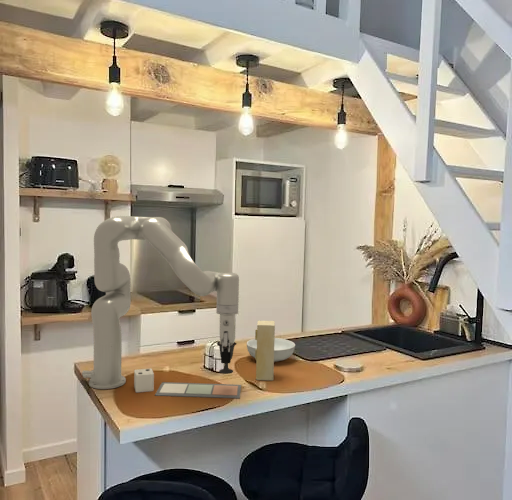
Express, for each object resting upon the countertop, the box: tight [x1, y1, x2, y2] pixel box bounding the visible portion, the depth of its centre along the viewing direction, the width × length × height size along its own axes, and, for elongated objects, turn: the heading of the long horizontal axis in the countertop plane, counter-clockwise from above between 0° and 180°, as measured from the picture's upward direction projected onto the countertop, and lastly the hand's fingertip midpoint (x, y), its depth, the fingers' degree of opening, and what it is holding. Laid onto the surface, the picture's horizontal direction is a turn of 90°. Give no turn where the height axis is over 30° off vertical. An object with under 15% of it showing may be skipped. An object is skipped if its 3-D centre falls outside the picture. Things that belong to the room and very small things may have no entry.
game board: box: [154, 381, 242, 399], centre depth 168 cm, size 29×12×1 cm, turn 89°
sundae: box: [216, 341, 237, 375], centre depth 167 cm, size 7×7×15 cm
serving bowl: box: [246, 337, 296, 363], centre depth 206 cm, size 21×21×7 cm
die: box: [133, 367, 155, 393], centre depth 168 cm, size 6×6×6 cm
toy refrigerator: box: [254, 320, 276, 381], centre depth 183 cm, size 8×7×21 cm
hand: (226, 359), depth 167 cm, fingers closed on sundae, 4 cm apart
